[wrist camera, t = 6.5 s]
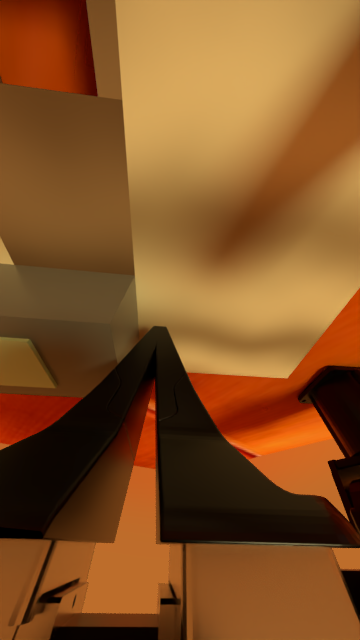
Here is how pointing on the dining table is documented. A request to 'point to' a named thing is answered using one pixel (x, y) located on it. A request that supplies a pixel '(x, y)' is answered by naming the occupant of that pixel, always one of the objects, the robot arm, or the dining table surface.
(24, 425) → the dining table surface
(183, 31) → the subfloor board
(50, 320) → the block
